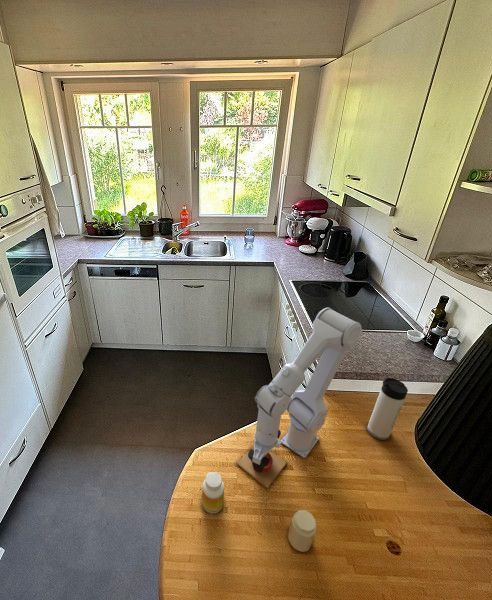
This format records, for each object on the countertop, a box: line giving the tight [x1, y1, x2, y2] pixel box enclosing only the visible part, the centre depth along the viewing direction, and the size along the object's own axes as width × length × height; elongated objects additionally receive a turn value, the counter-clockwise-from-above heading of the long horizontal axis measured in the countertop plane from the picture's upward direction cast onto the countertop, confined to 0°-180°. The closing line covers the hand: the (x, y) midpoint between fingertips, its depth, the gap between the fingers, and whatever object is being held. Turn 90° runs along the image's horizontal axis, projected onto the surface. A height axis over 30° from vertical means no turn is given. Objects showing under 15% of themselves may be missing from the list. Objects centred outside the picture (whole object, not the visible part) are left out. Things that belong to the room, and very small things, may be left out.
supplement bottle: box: [201, 471, 225, 514], centre depth 80 cm, size 5×5×10 cm
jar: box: [287, 509, 317, 553], centre depth 73 cm, size 5×5×8 cm
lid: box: [252, 453, 273, 472], centre depth 91 cm, size 6×6×2 cm
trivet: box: [236, 445, 287, 489], centre depth 92 cm, size 10×10×1 cm
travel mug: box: [366, 377, 409, 441], centre depth 97 cm, size 6×7×20 cm
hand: (262, 459), depth 91 cm, fingers open, 7 cm apart
